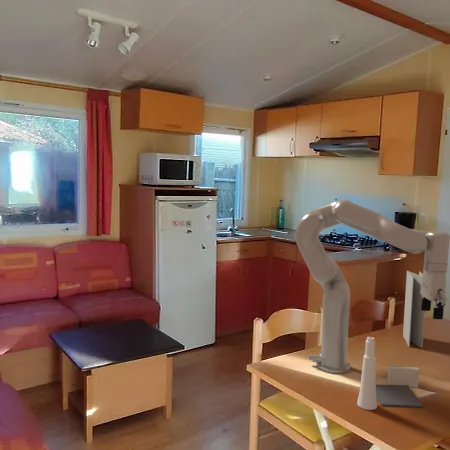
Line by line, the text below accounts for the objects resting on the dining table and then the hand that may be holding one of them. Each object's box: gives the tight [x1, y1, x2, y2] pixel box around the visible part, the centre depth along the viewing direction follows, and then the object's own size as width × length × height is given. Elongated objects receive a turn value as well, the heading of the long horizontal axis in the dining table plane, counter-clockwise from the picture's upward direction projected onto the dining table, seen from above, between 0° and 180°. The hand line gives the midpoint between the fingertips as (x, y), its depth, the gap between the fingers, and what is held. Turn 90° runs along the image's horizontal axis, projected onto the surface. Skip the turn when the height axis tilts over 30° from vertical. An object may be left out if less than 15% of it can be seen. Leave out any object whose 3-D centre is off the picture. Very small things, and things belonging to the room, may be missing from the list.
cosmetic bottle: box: [356, 336, 378, 411], centre depth 144 cm, size 6×6×22 cm
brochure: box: [402, 270, 426, 349], centre depth 201 cm, size 14×6×30 cm, turn 168°
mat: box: [376, 383, 425, 408], centre depth 152 cm, size 13×14×1 cm
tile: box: [386, 365, 420, 388], centre depth 160 cm, size 10×2×6 cm, turn 88°
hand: (431, 314), depth 163 cm, fingers open, 9 cm apart
